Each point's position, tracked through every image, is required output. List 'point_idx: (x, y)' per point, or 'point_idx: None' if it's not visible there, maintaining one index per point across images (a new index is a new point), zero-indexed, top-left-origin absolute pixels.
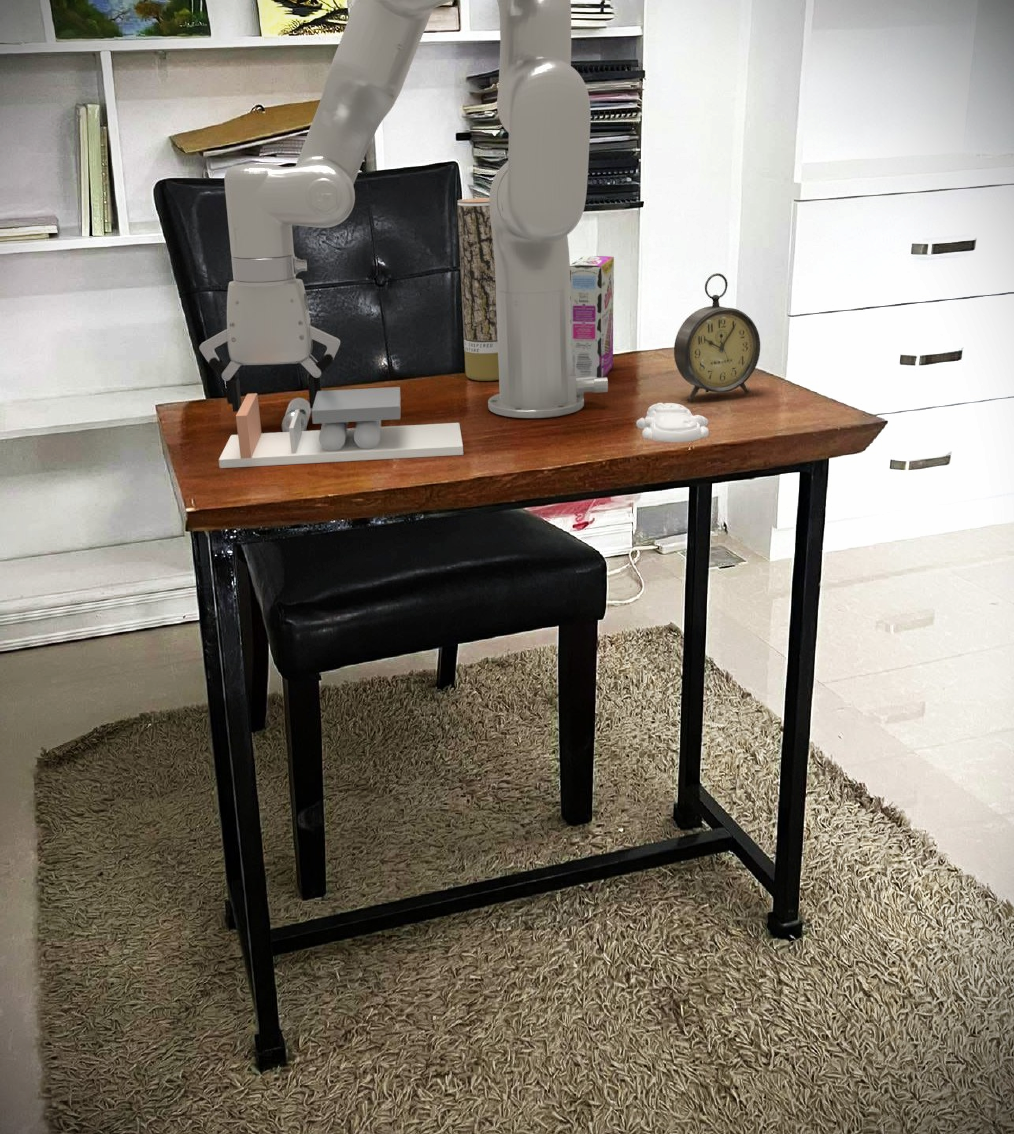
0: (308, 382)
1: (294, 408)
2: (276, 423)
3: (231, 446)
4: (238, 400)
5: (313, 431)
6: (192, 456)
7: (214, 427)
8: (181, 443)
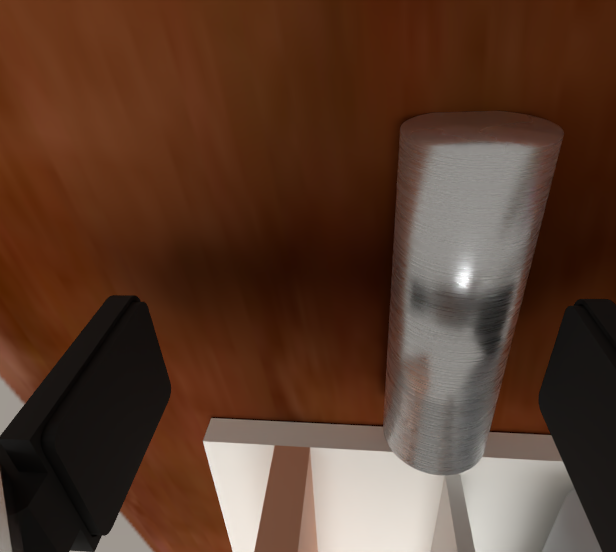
0: (603, 547)
1: (452, 394)
2: (332, 187)
3: (244, 529)
4: (148, 409)
5: (506, 468)
6: (140, 491)
7: (42, 202)
8: (36, 385)
